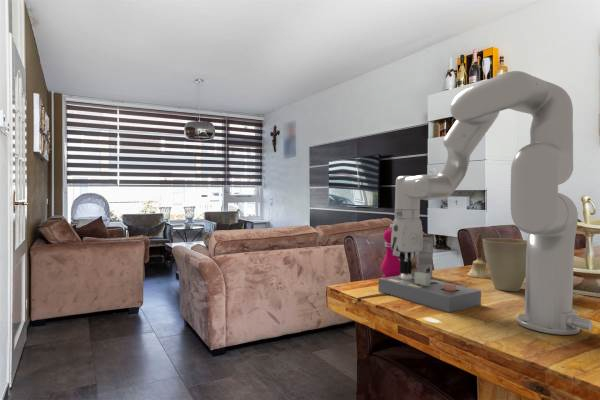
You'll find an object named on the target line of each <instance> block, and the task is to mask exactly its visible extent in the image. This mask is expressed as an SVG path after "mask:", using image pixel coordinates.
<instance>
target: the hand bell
mask: <svg viewBox="0 0 600 400" xmlns="http://www.w3.org/2000/svg"><path fill="white" fill-rule="evenodd" d="M475 239H476V240H475V247H476V252H477V253H476V260H473V261H472V266H471V269H470V270H469V271H468V272H467V274H466V275H467V276H468V277H470V278H471V277H472V278H477V279H491V276H490V273H489V271H488V268H487V263H486V261H484V260H483V256H482V255H483V254H482V252H483V249H484V247H483V239H484V237H483V236H482V233H477V237H476V238H475Z"/></svg>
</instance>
